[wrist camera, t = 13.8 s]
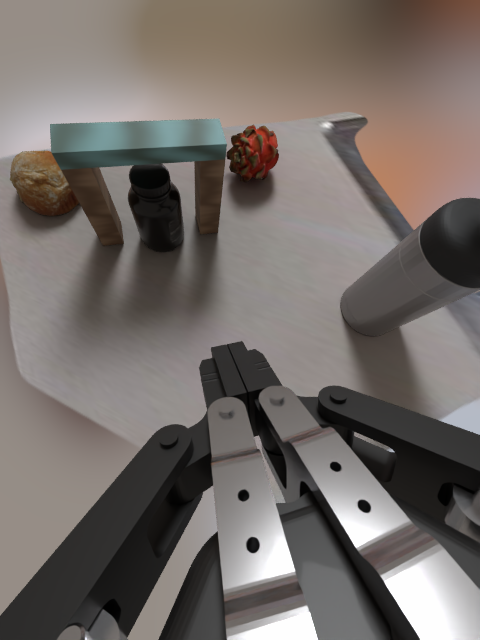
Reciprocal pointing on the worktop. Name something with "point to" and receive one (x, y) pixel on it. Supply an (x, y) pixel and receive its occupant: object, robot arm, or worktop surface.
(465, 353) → the worktop surface
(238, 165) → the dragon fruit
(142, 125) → the gate
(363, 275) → the robot arm
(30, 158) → the bread roll
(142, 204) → the supplement bottle
